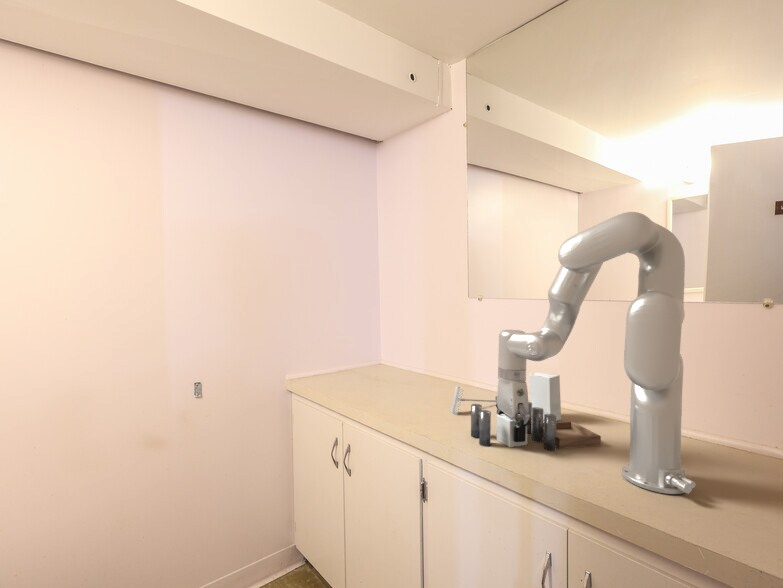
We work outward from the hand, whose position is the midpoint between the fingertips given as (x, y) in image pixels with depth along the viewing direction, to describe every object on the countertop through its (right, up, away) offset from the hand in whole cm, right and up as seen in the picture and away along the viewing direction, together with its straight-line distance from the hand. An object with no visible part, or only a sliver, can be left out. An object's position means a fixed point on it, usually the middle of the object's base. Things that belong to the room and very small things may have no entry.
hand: (510, 434), depth 109 cm
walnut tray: (+17, -2, +3) cm, 17 cm away
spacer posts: (0, -2, 0) cm, 2 cm away
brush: (-1, -2, +32) cm, 32 cm away
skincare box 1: (0, -2, 0) cm, 2 cm away
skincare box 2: (+18, -2, +20) cm, 27 cm away
